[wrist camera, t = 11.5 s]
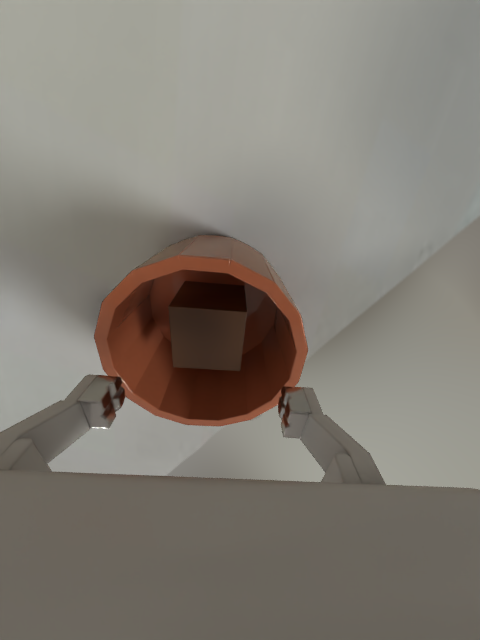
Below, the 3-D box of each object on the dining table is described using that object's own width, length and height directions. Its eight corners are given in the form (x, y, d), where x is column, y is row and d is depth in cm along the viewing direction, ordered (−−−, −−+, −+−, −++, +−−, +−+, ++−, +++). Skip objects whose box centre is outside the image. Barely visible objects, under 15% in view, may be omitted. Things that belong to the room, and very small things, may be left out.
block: (244, 285, 18) (247, 312, 14) (239, 335, 21) (240, 371, 16) (184, 280, 18) (167, 306, 14) (186, 331, 20) (172, 367, 16)
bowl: (296, 242, 17) (332, 268, 11) (271, 364, 23) (285, 429, 16) (135, 227, 16) (67, 245, 10) (152, 357, 22) (117, 422, 16)
